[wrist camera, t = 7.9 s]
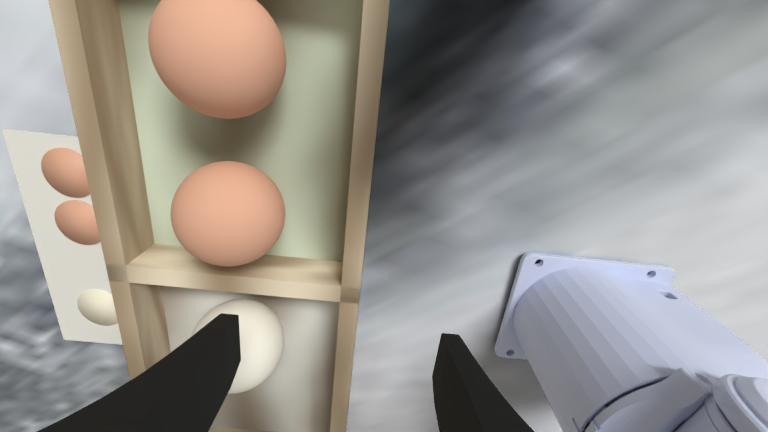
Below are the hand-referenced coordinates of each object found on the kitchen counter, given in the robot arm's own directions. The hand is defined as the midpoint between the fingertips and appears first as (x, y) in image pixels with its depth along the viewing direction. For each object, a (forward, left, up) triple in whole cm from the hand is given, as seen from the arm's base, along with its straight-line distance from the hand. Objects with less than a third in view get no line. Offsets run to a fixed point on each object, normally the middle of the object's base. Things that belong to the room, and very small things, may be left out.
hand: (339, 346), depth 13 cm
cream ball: (+6, +6, -6) cm, 10 cm away
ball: (+6, -9, -6) cm, 12 cm away
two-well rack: (+6, +2, -9) cm, 11 cm away
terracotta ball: (+6, -2, -6) cm, 9 cm away
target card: (+16, +3, -9) cm, 19 cm away
